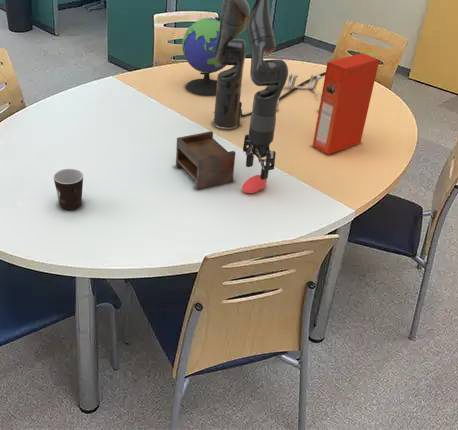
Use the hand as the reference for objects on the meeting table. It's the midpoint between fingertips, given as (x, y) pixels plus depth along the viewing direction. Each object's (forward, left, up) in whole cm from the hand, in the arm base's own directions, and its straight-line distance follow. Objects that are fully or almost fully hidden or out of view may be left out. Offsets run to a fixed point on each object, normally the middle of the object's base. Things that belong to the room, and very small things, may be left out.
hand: (256, 172), depth 184 cm
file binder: (-45, -15, -7) cm, 48 cm away
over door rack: (-55, -56, -7) cm, 79 cm away
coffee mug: (+57, -13, -7) cm, 59 cm away
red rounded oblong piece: (0, 0, -7) cm, 7 cm away
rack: (+10, -15, -7) cm, 19 cm away
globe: (-25, -80, -7) cm, 84 cm away
